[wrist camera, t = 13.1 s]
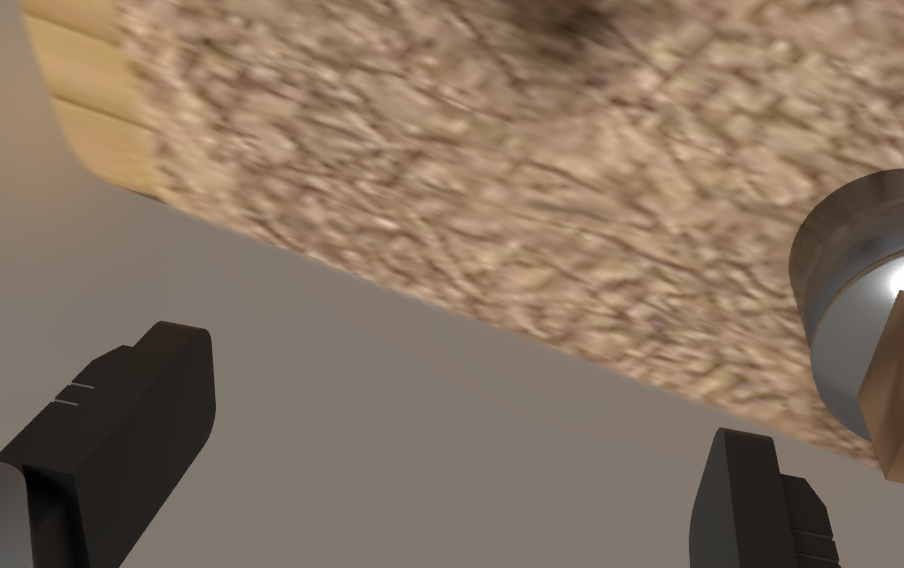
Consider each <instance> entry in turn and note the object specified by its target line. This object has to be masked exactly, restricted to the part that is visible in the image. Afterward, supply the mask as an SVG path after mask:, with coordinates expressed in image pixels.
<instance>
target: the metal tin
mask: <svg viewBox="0 0 904 568" xmlns="http://www.w3.org/2000/svg"><path fill="white" fill-rule="evenodd" d="M789 276H790V282H791V286H792V289H793V292H794V296H795V299H796V303H797V306H798V309H799V313H800V316H801V319H802V323H803V326H804V330H805V333H806V336H807V340H808V343H809V346H810V361H811V368H812V373H813V377H814V380H815V383H816V387H817V390H818V392H819V394H820V396H821V398H822V400H823V402H824V404H825V405H826V406H827V408H828V409H829V411H830V412H831V413H832V414H833V415H834V416H835V417H836V418H837V419H838V420H839V421H840V422H841V423H842V424H843V425H844V426H846V427H847V428H848V429H850V430H851V431H852V432H854V433H856V434H857V435H859V436H861V437H863V438H864V439H867V440H869V441H871V442H872V439H871V436H870V433H869V431H868V428H867V425H866V422H865V419H864V416H863V413H862V411H861V408H860V405H859V402H858V399H857V394H858V392H859V389H860V387H861V384H862V382H863V379H864V377H865V374H866V372H867V369H868V367H869V364H870V362H871V359H872V357H873V354H874V352H875V349H876V347H877V344H878V342H879V339H880V337H881V334H882V332H883V329H884V327H885V324H886V322H887V319H888V317H889V314H890V312H891V309H892V307H893V304H894V302H895V299H896V297H897V294H898V292H899V290H904V169H892V170H887V171H881V172H877V173H874V174H870V175H867V176H864V177H861V178H859V179H857V180H854V181H852V182H850V183H848V184H846V185H844V186H842V187H841V188H839V189H837V190H836V191H834V192H833V193H832V194H830V195H829V196H827V197H826V198H825V199H824V200H823V201H821V202H820V203H819V204H818V205H817V206H816V207H815V208H814V209H813V210H812V212H811V213H810V214H809V215H808V216H807V218H806V219H805V220H804V222H803V223H802V225H801V226H800V228H799V230H798V232H797V234H796V236H795V239H794V242H793V245H792V248H791V252H790V258H789Z"/></svg>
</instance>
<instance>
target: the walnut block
mask: <svg viewBox="0 0 904 568" xmlns="http://www.w3.org/2000/svg"><path fill="white" fill-rule="evenodd" d="M857 399H858V402H859V405H860V408H861V411H862V413H863V416H864V419H865V422H866V425H867V428H868V431H869V433H870V436H871V439H872V442H873V445H874V448H875V451H876V453H877V456H878V459H879V462H880V465H881V468H882V471H883V473H884V476H885V479H886V480H889V481H894V482H900V483H904V290H899V292H898V294H897V297H896V299H895V302H894V304H893V307H892V309H891V312H890V314H889V317H888V319H887V322H886V324H885V327H884V329H883V332H882V334H881V337H880V339H879V342H878V344H877V347H876V349H875V352H874V354H873V357H872V359H871V362H870V364H869V367H868V369H867V372H866V374H865V377H864V379H863V382H862V384H861V387H860V389H859V392H858V394H857Z"/></svg>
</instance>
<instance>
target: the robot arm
mask: <svg viewBox="0 0 904 568" xmlns="http://www.w3.org/2000/svg"><path fill="white" fill-rule="evenodd" d="M215 411H216V401H215V386H214V371H213V358H212V343H211V337H210V334H209V332H208V331H207V330H206V329H202V328H197V327H192V326H187V325H181V324H176V323H171V322H165V321H159V322H157V323H156V324H155V325H154V326H153V327H152V328H151V329H150V330H149V331H148V332H147V333H146V334H145V335H144V336H143V337H142V338H141V339H140V340H139V341H138V342H137V343H136V345H134V346H133V347H129V346H125V345H122V346H120V347H118V348H116V349H114V350H112V351H110V352H108V353H106V354H104V355H102V356H100V357H98V358H96V359H95V360H93V361H91V362H90V364H89V365H87V366H86V367H85V368H84V369H83V371H81V373H79V374H78V375H77V376H76V378H74V379H73V380H72V384H71V386H70V385H68V386H66V387H65V388H64V389H63V390H62V392H60V393H59V394H58V395H57V396H56V397H55V401H54V402H50V403H49V404H48V405H47V406H46V407H45V408H44V409H43V410H42V411H41V412H40V413H39V414H38V415H37V416H36V417H35V418H34V419H33V420H32V421H31V422H30V423H29V424H28V425H27V426H26V427H25V428H24V429H23V430H22V431H21V432H20V433H19V434H18V435H17V436H16V437H15V438H14V439H13V440H12V441H11V442H10V443H9V444H8V445H7V446H6V447H5V448H4V449H3V450H2V451H1V452H0V568H119V567H120V565H121V564H122V562H123V561H124V560H125V558H126V557H127V555H128V554H129V552H130V551H131V550H132V548H133V546H134V545H135V544H136V542H137V541H138V539H139V538H140V537H141V535H142V534H143V532H144V531H145V529H146V528H147V527H148V525H149V524H150V522H151V521H152V519H153V518H154V517H155V515H156V514H157V512H158V511H159V509H160V508H161V507H162V505H163V504H164V502H165V501H166V499H167V498H168V497H169V495H170V493H171V492H172V491H173V489H174V488H175V487H176V485H177V484H178V482H179V481H180V479H181V478H182V476H183V475H184V474H185V472H186V471H187V469H188V467H189V466H190V465H191V464H192V462H193V461H194V459H195V458H196V456H197V455H198V453H199V452H200V451H201V449H202V448H203V446H204V445H205V443H206V442H207V440H208V438H209V435H210V433H211V430H212V427H213V423H214V419H215ZM832 538H833V533H832V529H831V525H830V521H829V517H828V514H827V509H826V507H825V505H824V504H823V502H822V501H821V500H820V498H819V497H818V496H817V495H816V493H815V492H814V490H813V489H812V488H811V487H810V485H809V484H808V482H807V481H806V480H805V479H804V478H799V477H794V476H789V475H784V474H780V471H779V466H778V461H777V456H776V451H775V446H774V442H773V439H772V438H771V437H769V436H764V435H758V434H753V433H748V432H742V431H737V430H732V429H726V428H719V429H718V430H717V432H716V434H715V437H714V440H713V443H712V446H711V450H710V453H709V457H708V460H707V463H706V466H705V469H704V473H703V476H702V479H701V483H700V486H699V489H698V492H697V496H696V499H695V503H694V507H693V511H692V516H691V523H690V533H689V554H690V568H841V566H840V565H838V562H839V557H838V553H837V549H836V545H835V542H834V541H832Z"/></svg>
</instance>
